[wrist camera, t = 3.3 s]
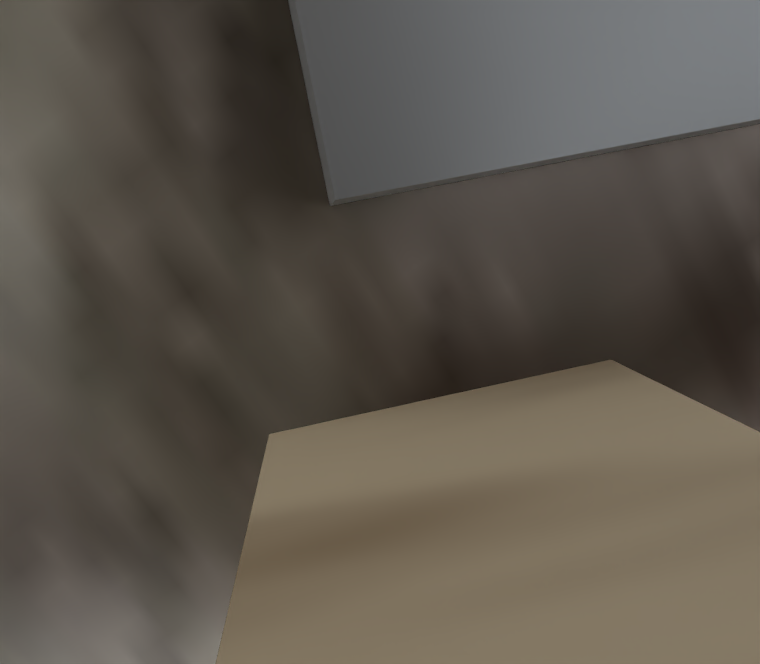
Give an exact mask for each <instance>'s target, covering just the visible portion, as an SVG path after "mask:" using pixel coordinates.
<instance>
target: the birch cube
mask: <svg viewBox="0 0 760 664" xmlns="http://www.w3.org/2000/svg"><path fill="white" fill-rule="evenodd" d="M216 664H760V432H759V431H757V430H755V429H752V428H750V427H748V426H746V425H744V424H742V423H740V422H738V421H736V420H734V419H732V418H730V417H728V416H726V415H724V414H722V413H720V412H718V411H716V410H713V409H711V408H709V407H707V406H705V405H703V404H701V403H699V402H697V401H695V400H693V399H691V398H689V397H687V396H685V395H683V394H681V393H679V392H676V391H674V390H672V389H670V388H668V387H666V386H664V385H662V384H660V383H658V382H656V381H654V380H652V379H650V378H648V377H646V376H644V375H642V374H639V373H637V372H635V371H633V370H631V369H629V368H627V367H625V366H623V365H621V364H619V363H617V362H615V361H613V360H607V361H602V362H597V363H593V364H588V365H584V366H579V367H574V368H570V369H565V370H561V371H556V372H552V373H547V374H542V375H538V376H533V377H529V378H524V379H519V380H515V381H510V382H506V383H501V384H497V385H492V386H487V387H483V388H478V389H474V390H469V391H464V392H460V393H455V394H451V395H446V396H442V397H437V398H432V399H428V400H423V401H419V402H414V403H410V404H405V405H400V406H396V407H391V408H387V409H382V410H377V411H373V412H368V413H364V414H359V415H355V416H350V417H345V418H341V419H336V420H332V421H327V422H322V423H318V424H313V425H309V426H304V427H300V428H295V429H290V430H286V431H281V432H277V433H272V434H269V437H268V441H267V445H266V450H265V454H264V458H263V463H262V467H261V471H260V475H259V480H258V484H257V488H256V493H255V497H254V501H253V505H252V510H251V514H250V518H249V523H248V527H247V531H246V535H245V540H244V544H243V548H242V553H241V557H240V561H239V565H238V570H237V574H236V578H235V583H234V587H233V591H232V595H231V600H230V604H229V608H228V613H227V617H226V621H225V625H224V630H223V634H222V638H221V643H220V647H219V651H218V655H217V660H216Z"/></svg>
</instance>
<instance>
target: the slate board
mask: <svg viewBox="0 0 760 664" xmlns="http://www.w3.org/2000/svg"><path fill="white" fill-rule="evenodd" d="M288 2H289V7H290V12H291V17H292V22H293V27H294V32H295V37H296V42H297V47H298V52H299V57H300V61H301V66H302V71H303V76H304V81H305V86H306V91H307V96H308V101H309V106H310V111H311V115H312V120H313V125H314V130H315V135H316V140H317V145H318V150H319V155H320V160H321V165H322V169H323V174H324V179H325V184H326V189H327V194H328V199H329V204H330V206H333V205H339V204H344V203H349V202H354V201H359V200H365V199H370V198H375V197H380V196H385V195H391V194H396V193H401V192H406V191H412V190H417V189H422V188H427V187H432V186H438V185H443V184H448V183H453V182H459V181H464V180H469V179H474V178H479V177H485V176H490V175H495V174H500V173H506V172H511V171H516V170H521V169H526V168H532V167H537V166H542V165H547V164H553V163H558V162H563V161H568V160H573V159H579V158H584V157H589V156H594V155H600V154H605V153H610V152H615V151H620V150H626V149H631V148H636V147H641V146H646V145H652V144H657V143H662V142H667V141H673V140H678V139H683V138H688V137H693V136H699V135H704V134H709V133H714V132H720V131H725V130H730V129H735V128H740V127H746V126H751V125H756V124H760V0H288Z"/></svg>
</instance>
